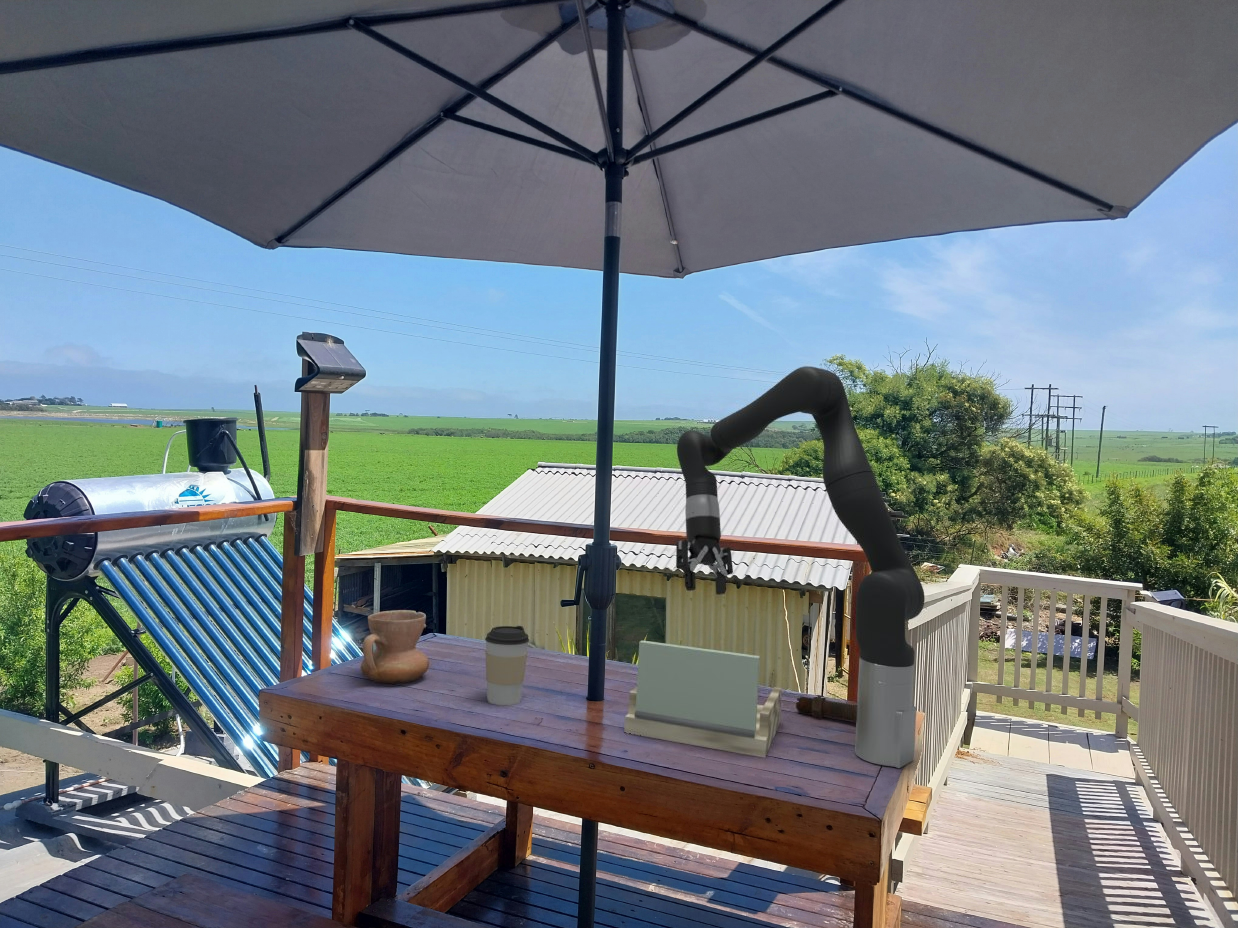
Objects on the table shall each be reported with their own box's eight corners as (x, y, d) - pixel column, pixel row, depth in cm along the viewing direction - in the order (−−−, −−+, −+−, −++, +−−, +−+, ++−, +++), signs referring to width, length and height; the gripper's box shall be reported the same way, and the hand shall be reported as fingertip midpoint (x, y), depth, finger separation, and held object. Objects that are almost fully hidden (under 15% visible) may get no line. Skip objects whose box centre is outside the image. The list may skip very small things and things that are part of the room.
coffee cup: (494, 709, 147) (498, 633, 147) (474, 696, 155) (478, 624, 155) (533, 703, 153) (537, 630, 153) (512, 691, 160) (516, 621, 160)
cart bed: (655, 702, 157) (656, 669, 157) (779, 723, 148) (781, 688, 148) (624, 732, 138) (626, 694, 138) (764, 757, 130) (766, 717, 130)
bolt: (798, 720, 157) (872, 733, 149) (792, 713, 153) (868, 727, 146) (802, 693, 160) (875, 704, 152) (796, 686, 156) (871, 697, 148)
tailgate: (637, 715, 139) (641, 640, 139) (755, 735, 132) (759, 656, 132) (634, 718, 137) (638, 642, 137) (753, 738, 130) (758, 658, 130)
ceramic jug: (398, 665, 176) (400, 605, 176) (446, 675, 169) (448, 612, 169) (337, 683, 160) (339, 617, 160) (386, 695, 153) (389, 626, 153)
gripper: (689, 509, 157) (692, 586, 151) (738, 519, 165) (742, 592, 159) (666, 517, 162) (669, 591, 157) (714, 526, 170) (718, 597, 165)
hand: (706, 592), depth 158 cm, fingers open, 8 cm apart
